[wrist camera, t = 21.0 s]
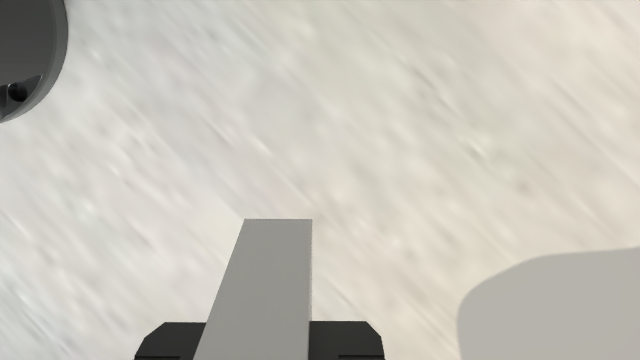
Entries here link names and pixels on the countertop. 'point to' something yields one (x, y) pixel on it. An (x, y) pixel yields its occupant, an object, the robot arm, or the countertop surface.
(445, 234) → the countertop surface
